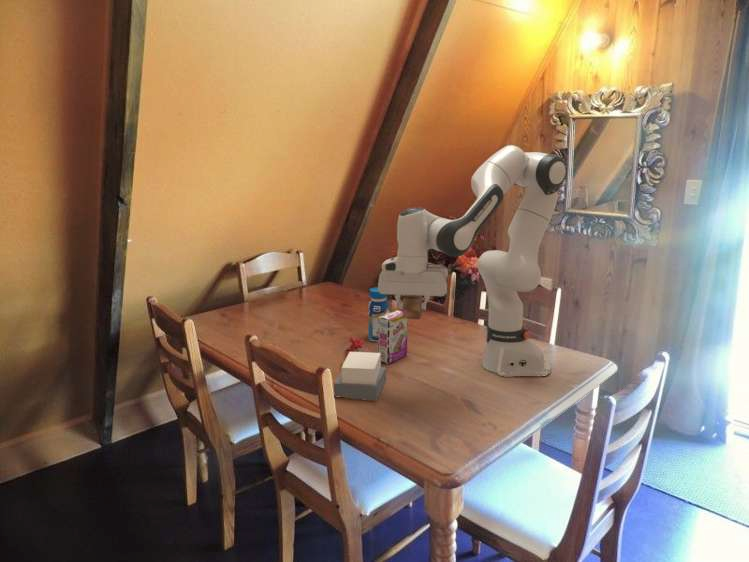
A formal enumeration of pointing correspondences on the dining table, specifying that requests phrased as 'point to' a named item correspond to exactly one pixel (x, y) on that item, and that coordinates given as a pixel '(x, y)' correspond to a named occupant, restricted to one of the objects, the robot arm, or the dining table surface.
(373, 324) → the beverage bottle
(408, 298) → the walnut block
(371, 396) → the tower base
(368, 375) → the tower top
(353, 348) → the bird rattle
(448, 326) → the dining table surface
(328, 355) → the dining table surface
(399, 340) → the candy bar box
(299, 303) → the dining table surface
